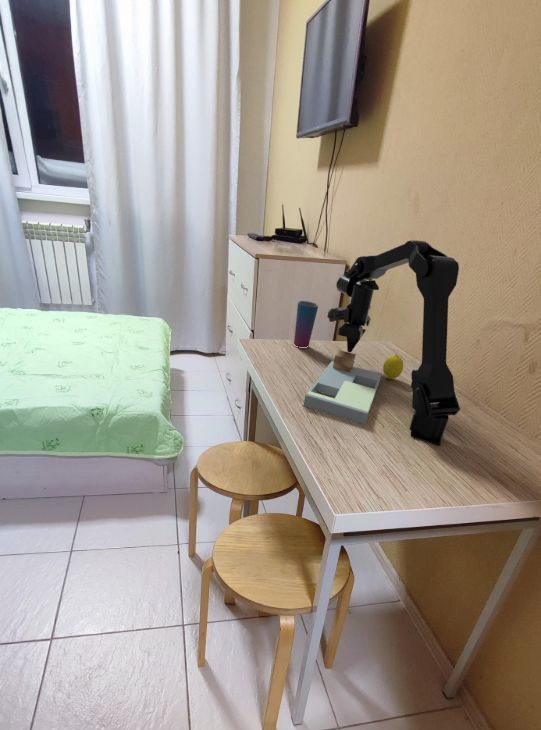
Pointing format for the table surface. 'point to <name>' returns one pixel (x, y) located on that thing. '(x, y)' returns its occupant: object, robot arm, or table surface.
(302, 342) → the cup
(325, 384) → the board
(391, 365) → the lemon
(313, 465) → the table surface
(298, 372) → the table surface
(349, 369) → the block
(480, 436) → the table surface
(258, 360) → the table surface
